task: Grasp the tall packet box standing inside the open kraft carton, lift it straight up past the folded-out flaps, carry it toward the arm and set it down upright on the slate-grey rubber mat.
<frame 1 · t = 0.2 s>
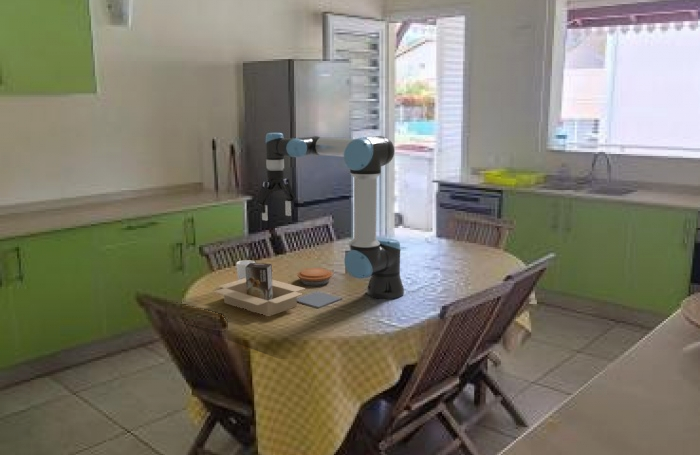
hand: (276, 217, 275), 28 cm above the table, fingers open, 13 cm apart
white cup: (246, 285, 274), on the table
carton: (260, 304, 248), on the table
pie: (315, 282, 278), on the table
mat: (317, 300, 253), on the table
coffee box: (260, 305, 248), resting in carton
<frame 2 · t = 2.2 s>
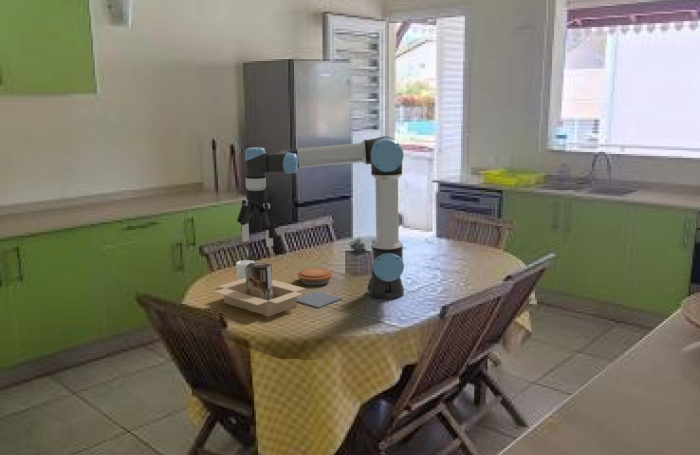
hand: (257, 243, 243), 25 cm above the table, fingers open, 13 cm apart
nothing on the table moved.
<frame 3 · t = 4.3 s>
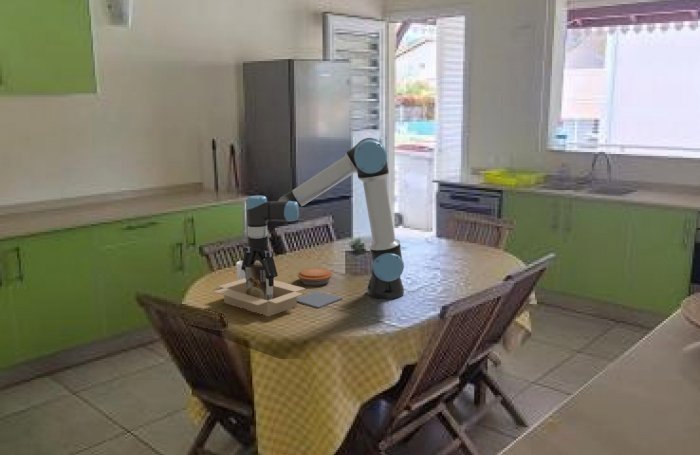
hand: (259, 291, 247), 5 cm above the table, fingers closed on coffee box, 11 cm apart
coffee box: (260, 304, 248), resting in carton, touching gripper
everything else where it was.
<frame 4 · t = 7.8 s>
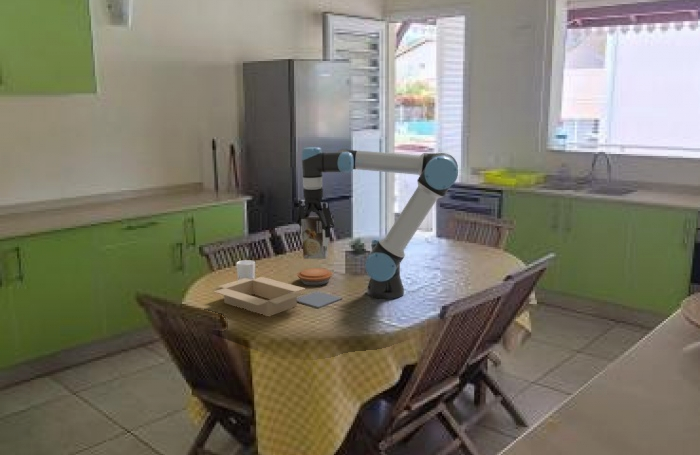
hand: (315, 243, 248), 23 cm above the table, fingers closed on coffee box, 11 cm apart
coffee box: (315, 257, 249), point 18 cm above the table, touching gripper
everything else where it was.
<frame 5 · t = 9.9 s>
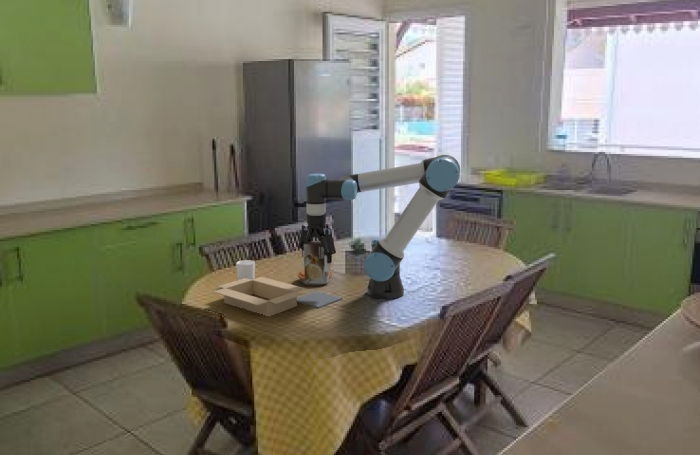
hand: (316, 268, 250), 13 cm above the table, fingers closed on coffee box, 11 cm apart
coffee box: (317, 281, 251), point 8 cm above the table, touching gripper
everything else where it was.
when the fingers open (8 cm above the table, at t = 11.6 s): coffee box drops 2 cm, resting on mat.
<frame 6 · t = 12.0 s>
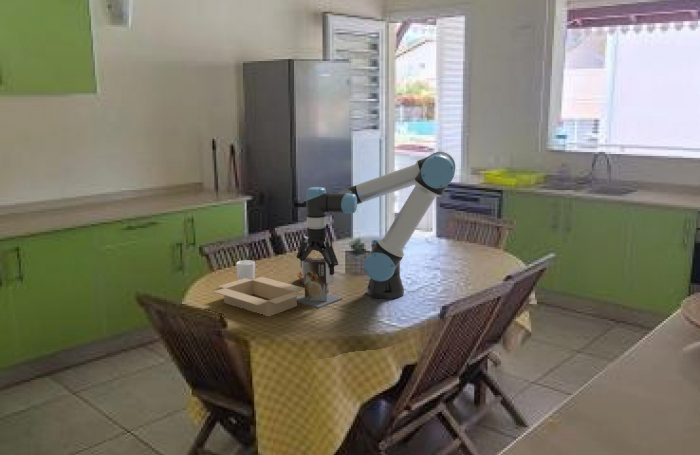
hand: (317, 279, 251), 9 cm above the table, fingers open, 13 cm apart
coffee box: (317, 299, 253), resting on mat
everything else where it was.
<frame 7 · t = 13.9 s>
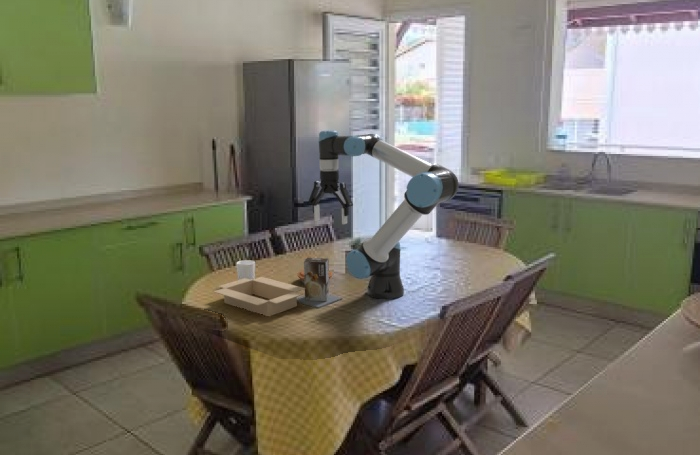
hand: (330, 222, 255), 30 cm above the table, fingers open, 13 cm apart
nothing on the table moved.
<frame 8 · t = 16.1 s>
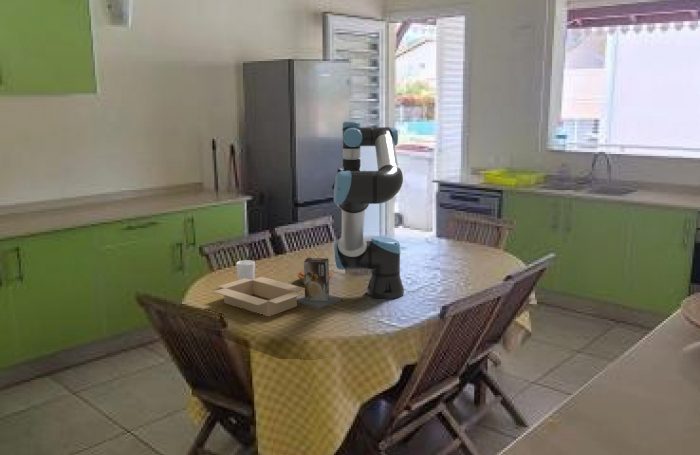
hand: (351, 207, 272), 33 cm above the table, fingers open, 13 cm apart
nothing on the table moved.
at the end: coffee box inside the target area on the mat (0.3 cm from its centre), point 0.4 cm above the mat's base; coffee box tilted 0°; the gripper is holding nothing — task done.
